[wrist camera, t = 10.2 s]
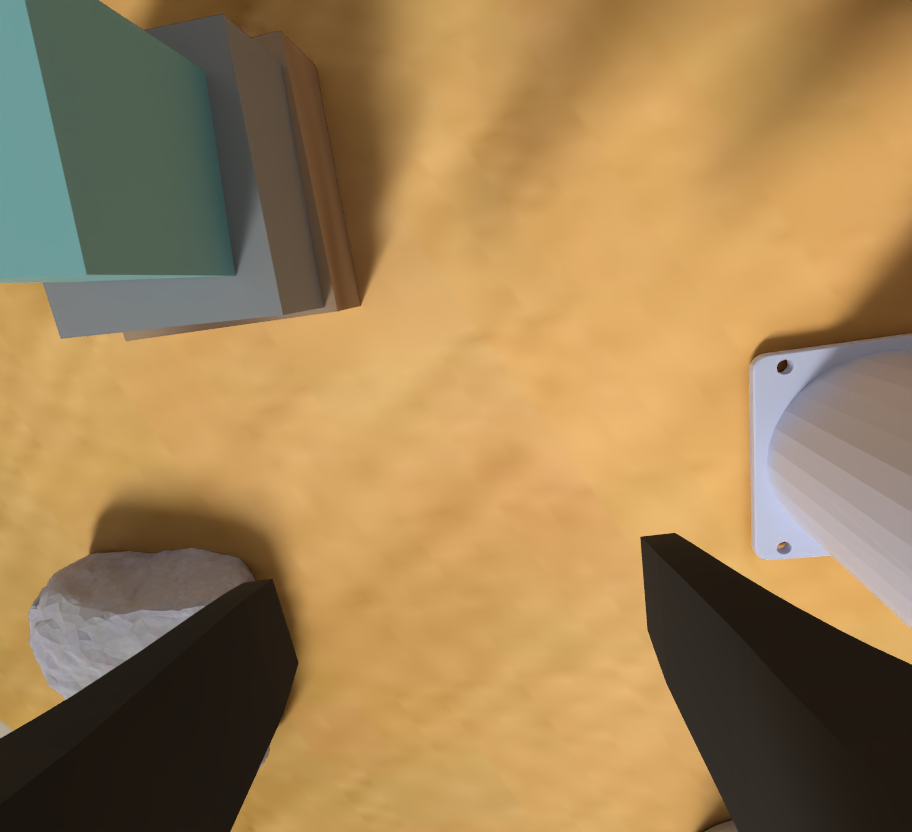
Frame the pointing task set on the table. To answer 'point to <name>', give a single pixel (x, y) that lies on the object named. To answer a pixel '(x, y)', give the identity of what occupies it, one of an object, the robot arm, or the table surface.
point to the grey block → (246, 201)
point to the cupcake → (724, 827)
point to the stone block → (121, 608)
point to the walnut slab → (317, 190)
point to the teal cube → (103, 151)
